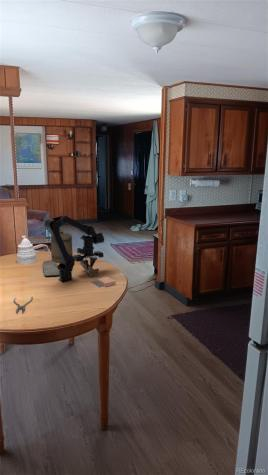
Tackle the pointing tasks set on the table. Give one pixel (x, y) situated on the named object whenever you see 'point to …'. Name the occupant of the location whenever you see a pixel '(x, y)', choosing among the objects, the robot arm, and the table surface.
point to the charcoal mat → (97, 284)
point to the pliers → (22, 306)
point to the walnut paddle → (90, 270)
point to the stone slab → (50, 268)
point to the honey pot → (26, 252)
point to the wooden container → (67, 242)
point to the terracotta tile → (106, 281)
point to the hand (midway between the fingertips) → (89, 269)
